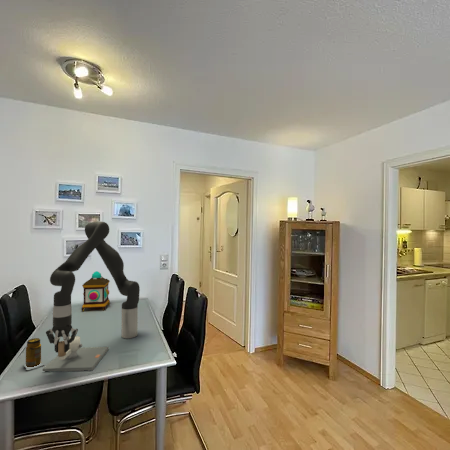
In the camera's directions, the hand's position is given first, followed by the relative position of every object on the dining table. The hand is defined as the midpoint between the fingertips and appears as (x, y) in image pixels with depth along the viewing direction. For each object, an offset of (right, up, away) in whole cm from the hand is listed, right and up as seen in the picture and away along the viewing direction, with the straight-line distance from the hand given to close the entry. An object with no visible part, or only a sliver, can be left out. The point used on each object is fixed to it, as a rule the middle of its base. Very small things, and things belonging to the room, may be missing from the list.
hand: (61, 351), depth 129 cm
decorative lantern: (-29, -9, +98) cm, 103 cm away
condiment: (-16, -9, +4) cm, 19 cm away
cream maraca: (0, -4, +6) cm, 7 cm away
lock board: (+2, -9, +10) cm, 14 cm away
